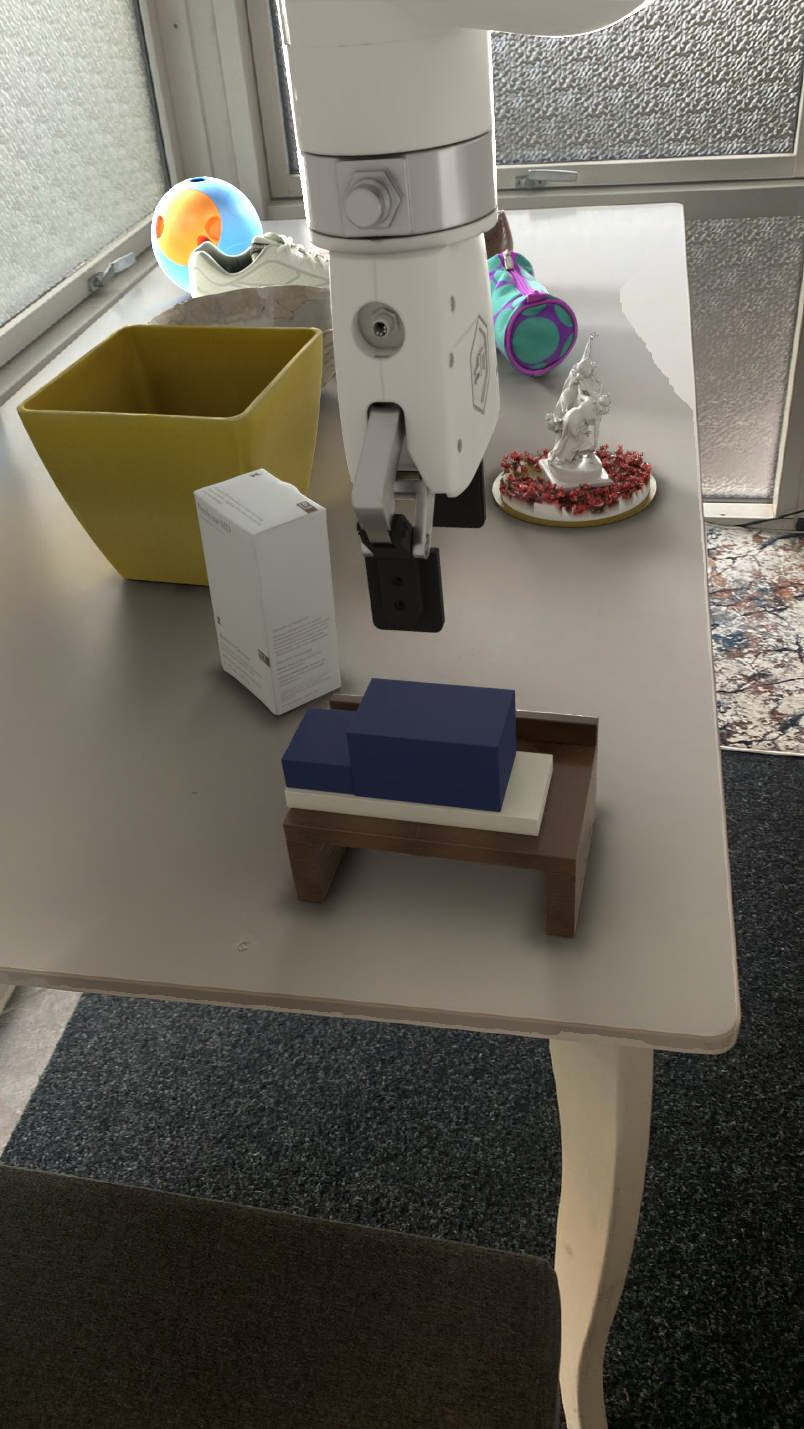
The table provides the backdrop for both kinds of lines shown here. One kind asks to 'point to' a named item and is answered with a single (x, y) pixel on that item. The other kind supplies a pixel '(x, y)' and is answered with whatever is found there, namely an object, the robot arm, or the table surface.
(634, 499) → the figurine
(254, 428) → the flower pot
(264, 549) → the cosmetic box
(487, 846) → the shelf
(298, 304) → the ceramic bowl
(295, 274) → the running shoe
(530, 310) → the pencil case
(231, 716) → the table surface
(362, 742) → the navy stepped block
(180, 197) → the treat dispenser ball
